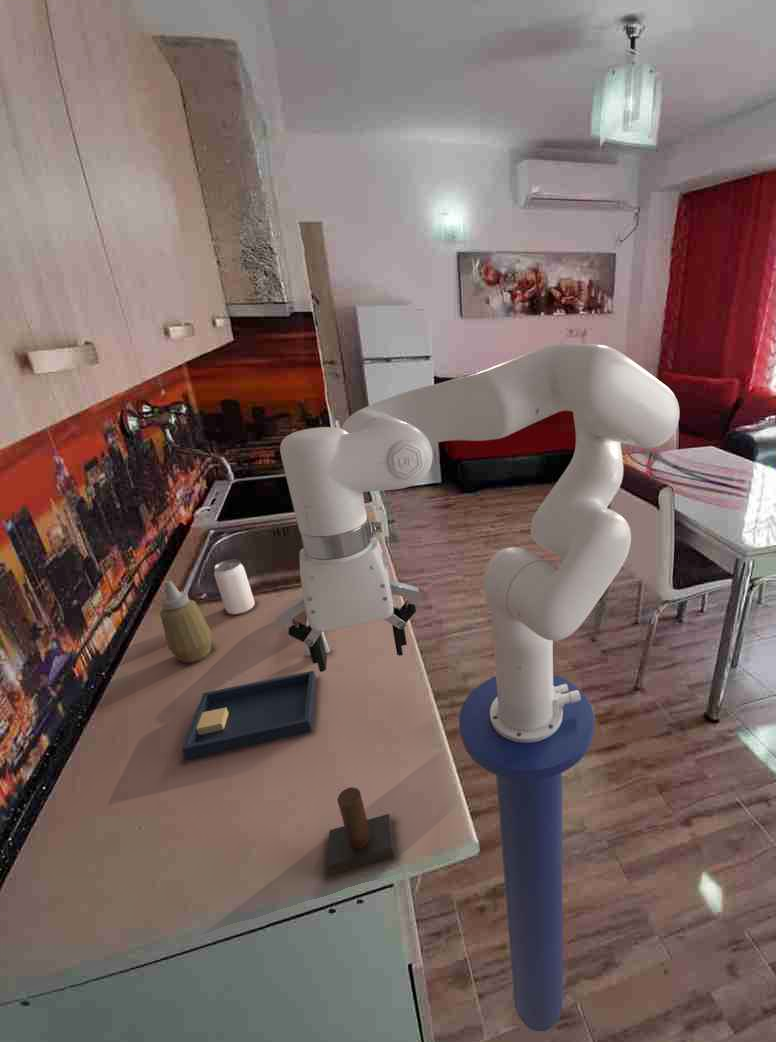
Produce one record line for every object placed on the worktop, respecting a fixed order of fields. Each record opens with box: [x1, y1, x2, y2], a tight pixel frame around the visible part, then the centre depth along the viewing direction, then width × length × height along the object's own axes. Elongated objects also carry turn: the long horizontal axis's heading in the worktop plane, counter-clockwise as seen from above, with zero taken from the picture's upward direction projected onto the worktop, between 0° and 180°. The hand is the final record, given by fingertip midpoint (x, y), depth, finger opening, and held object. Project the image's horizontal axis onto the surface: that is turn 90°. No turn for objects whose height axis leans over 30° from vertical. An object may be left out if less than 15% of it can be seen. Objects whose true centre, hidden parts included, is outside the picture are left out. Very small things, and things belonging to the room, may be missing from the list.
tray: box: [181, 670, 317, 761], centre depth 90 cm, size 20×14×2 cm
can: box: [213, 559, 256, 616], centre depth 122 cm, size 6×6×12 cm
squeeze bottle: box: [159, 579, 213, 663], centre depth 105 cm, size 8×8×18 cm
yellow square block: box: [196, 708, 229, 735], centre depth 89 cm, size 4×4×2 cm
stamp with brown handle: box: [327, 787, 395, 876], centre depth 66 cm, size 8×5×10 cm, turn 105°
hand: (362, 656), depth 66 cm, fingers open, 9 cm apart
